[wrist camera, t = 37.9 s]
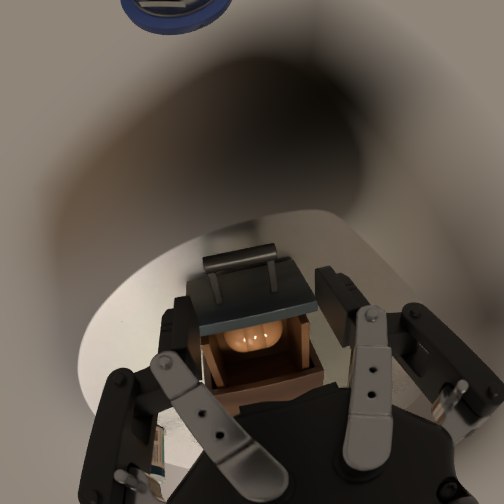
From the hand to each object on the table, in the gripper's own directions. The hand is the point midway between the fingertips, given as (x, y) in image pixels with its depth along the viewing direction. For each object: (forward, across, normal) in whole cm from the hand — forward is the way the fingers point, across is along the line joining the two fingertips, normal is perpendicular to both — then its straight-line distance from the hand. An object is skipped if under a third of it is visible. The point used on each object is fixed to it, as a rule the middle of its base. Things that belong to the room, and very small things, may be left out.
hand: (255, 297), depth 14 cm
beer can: (+15, +23, +39) cm, 47 cm away
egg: (+13, 0, +12) cm, 18 cm away
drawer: (+14, 0, +11) cm, 18 cm away
